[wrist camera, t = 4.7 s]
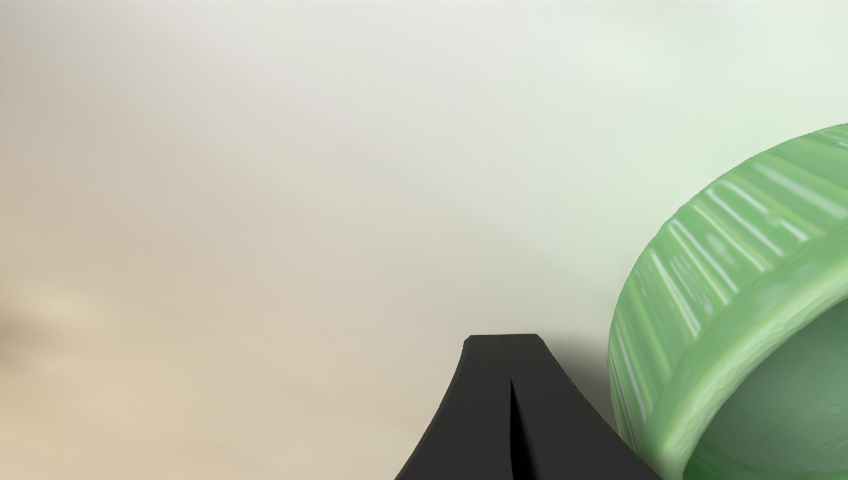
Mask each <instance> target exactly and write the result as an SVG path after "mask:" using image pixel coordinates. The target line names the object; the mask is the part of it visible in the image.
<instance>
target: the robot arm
mask: <svg viewBox="0 0 848 480" xmlns="http://www.w3.org/2000/svg"><path fill="white" fill-rule="evenodd" d="M394 480H663V479H662V478H661V477H660V476H659V475H658V474H656V473H655V472H654V471H653V470H652V469H651V468H650V467H649V466H648V465H647V464H646V463H645V462H644V461H643V460H642V459H641V458H640V457H639V456H638V455H637V454H636V453H635V452H634V451H633V450H632V449H631V448H630V447H629V446H628V445H627V444H626V443H625V442H624V441H623V440H622V439H621V438H620V437H619V436H618V435H617V434H616V432H615V431H614V430H613V429H612V428H611V427H610V426H609V425H608V424H607V423H606V422H605V420H604V419H603V418H602V417H601V416H600V415H599V414H598V412H597V411H596V410H595V409H594V408H593V406H592V405H591V404H590V403H589V402H588V401H587V399H586V398H585V397H584V396H583V395H582V393H581V392H580V391H579V390H578V389H577V387H576V386H575V385H574V383H573V382H572V381H571V380H570V378H569V377H568V376H567V374H566V373H565V372H564V370H563V369H562V368H561V366H560V365H559V364H558V362H557V361H556V359H555V358H554V356H553V355H552V354H551V352H550V351H549V349H548V347H547V346H546V344H545V343H544V341H543V340H542V339H541V338H540V337H539V336H538V335H537V334H505V335H470V336H469V337H468V338H467V339H466V340H465V341H464V345H463V350H462V354H461V357H460V360H459V363H458V366H457V369H456V371H455V374H454V376H453V378H452V381H451V383H450V385H449V387H448V389H447V392H446V394H445V396H444V398H443V400H442V402H441V404H440V406H439V408H438V410H437V412H436V414H435V416H434V418H433V419H432V421H431V423H430V424H429V426H428V428H427V429H426V431H425V433H424V435H423V436H422V438H421V440H420V441H419V443H418V445H417V446H416V448H415V450H414V451H413V453H412V454H411V456H410V457H409V459H408V460H407V462H406V463H405V465H404V466H403V468H402V469H401V471H400V472H399V474H398V475H397V477H396V478H395V479H394Z"/></svg>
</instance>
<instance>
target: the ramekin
mask: <svg viewBox="0 0 848 480" xmlns="http://www.w3.org/2000/svg"><path fill="white" fill-rule="evenodd" d="M607 362H608V370H609V386H610V394H611V399H612V404H613V409H614V414H615V419H616V424H617V428H618V432H619V436H620V438H621V439H622V440H623V441H624V442H625V443H626V444H627V445H628V446H629V447H630V448H631V449H632V450H633V451H634V452H635V453H636V454H637V455H638V456H639V457H640V458H641V459H642V460H643V461H644V462H645V463H646V464H647V465H648V466H649V467H650V468H651V469H652V470H653V471H654V472H655V473H656V474H658V475H659V476H660V477H661V478H662V479H663V480H848V123H846V124H840V125H835V126H832V127H828V128H825V129H822V130H818V131H815V132H812V133H809V134H806V135H803V136H800V137H797V138H794V139H791V140H788V141H786V142H783V143H781V144H779V145H777V146H775V147H773V148H770V149H768V150H766V151H763V152H761V153H759V154H757V155H755V156H753V157H751V158H749V159H747V160H746V161H744V162H743V163H741V164H739V165H738V166H736V167H735V168H733V169H731V170H730V171H728V172H726V173H725V174H723V175H722V176H720V177H719V178H717V179H716V180H714V181H713V182H712V183H710V184H709V185H708V186H707V187H705V188H704V189H703V190H702V191H700V192H699V193H698V194H697V195H695V196H694V197H693V198H692V199H691V200H690V201H689V202H687V203H686V204H684V205H683V206H682V207H680V208H679V210H678V211H677V212H676V213H675V214H674V215H673V216H672V217H671V218H670V219H669V220H667V221H666V222H665V223H664V224H663V226H662V227H661V229H660V230H659V232H658V233H657V235H656V236H655V237H654V238H653V239H652V240H651V241H650V242H649V244H648V245H647V246H646V248H645V249H644V251H643V252H642V254H641V255H640V256H639V258H638V260H637V262H636V264H635V265H634V267H633V269H632V271H631V273H630V275H629V277H628V278H627V280H626V282H625V285H624V287H623V289H622V291H621V294H620V296H619V299H618V302H617V305H616V308H615V312H614V316H613V320H612V324H611V328H610V334H609V347H608V361H607Z"/></svg>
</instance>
